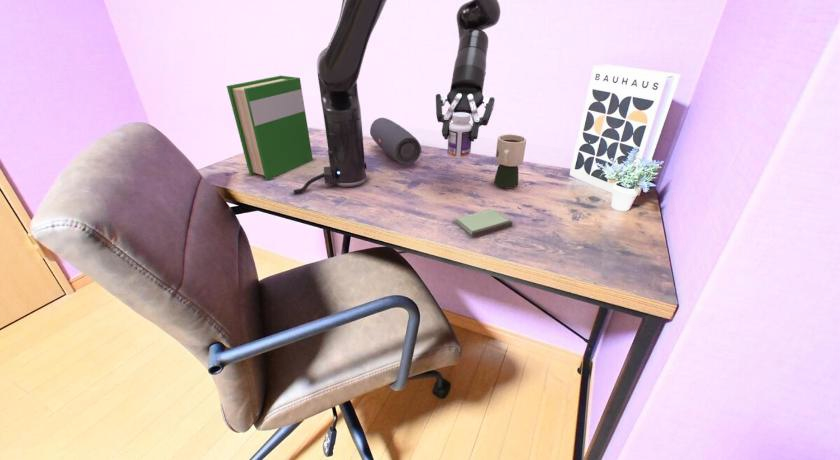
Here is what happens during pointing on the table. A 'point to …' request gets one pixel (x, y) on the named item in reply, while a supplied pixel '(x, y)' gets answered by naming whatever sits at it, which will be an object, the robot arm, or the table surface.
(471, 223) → the notebook
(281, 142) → the hardback book
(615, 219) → the table surface
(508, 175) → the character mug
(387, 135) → the bluetooth speaker
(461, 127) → the pill bottle
